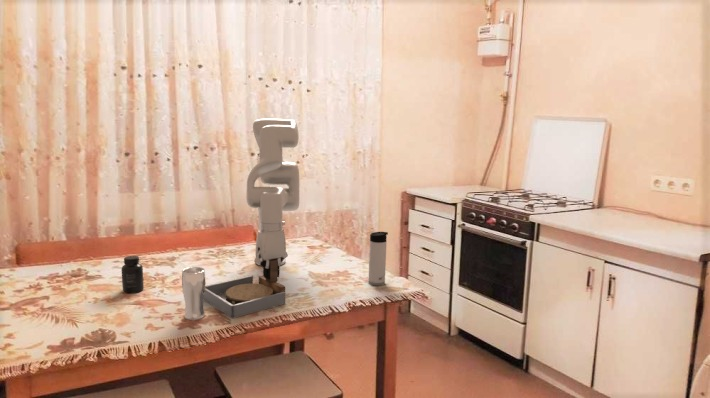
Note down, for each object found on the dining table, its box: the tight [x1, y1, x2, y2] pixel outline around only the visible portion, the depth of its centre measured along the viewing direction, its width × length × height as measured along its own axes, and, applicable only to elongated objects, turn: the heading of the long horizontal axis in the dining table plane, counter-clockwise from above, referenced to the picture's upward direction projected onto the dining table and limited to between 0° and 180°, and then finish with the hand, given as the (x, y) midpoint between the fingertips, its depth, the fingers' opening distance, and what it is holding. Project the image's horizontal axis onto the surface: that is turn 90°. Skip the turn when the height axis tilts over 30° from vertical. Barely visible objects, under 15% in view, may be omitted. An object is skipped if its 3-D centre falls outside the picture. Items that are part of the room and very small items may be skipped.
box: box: [203, 275, 286, 319], centre depth 174 cm, size 22×20×4 cm
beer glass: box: [181, 266, 206, 321], centre depth 159 cm, size 7×7×15 cm
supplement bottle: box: [121, 255, 145, 294], centre depth 180 cm, size 7×7×12 cm
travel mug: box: [367, 231, 389, 287], centre depth 194 cm, size 6×7×20 cm
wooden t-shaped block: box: [258, 259, 286, 294], centre depth 180 cm, size 14×3×12 cm, turn 42°
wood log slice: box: [225, 282, 273, 305], centre depth 175 cm, size 16×16×3 cm
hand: (271, 276), depth 180 cm, fingers closed on wooden t-shaped block, 3 cm apart
